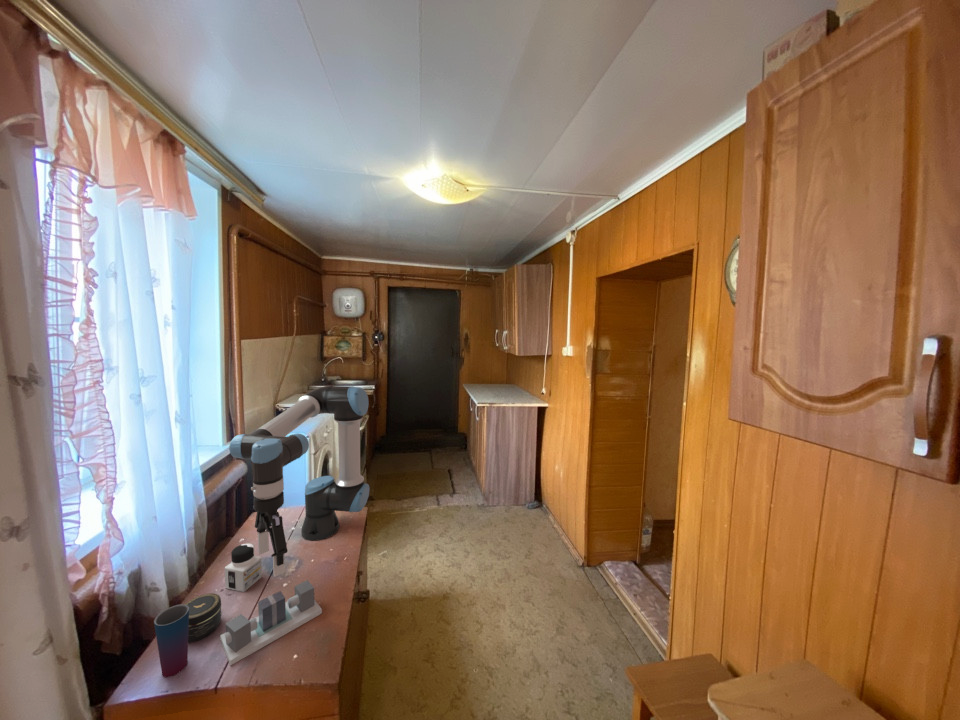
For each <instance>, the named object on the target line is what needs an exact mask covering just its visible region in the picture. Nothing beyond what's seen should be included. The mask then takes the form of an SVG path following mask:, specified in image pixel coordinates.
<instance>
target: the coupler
mask: <svg viewBox="0 0 960 720" xmlns="http://www.w3.org/2000/svg"><path fill="white" fill-rule="evenodd" d="M285 602H286V597H285V595H284V594H283V592H282V591H281V590H279V591H278V592H275V593H273V594H270V595H269V596H267V597H265V598H263V599H261V600H258V602H257V604H258V605H257V606H258V610H257V611H258V616H259V625H260V627H261V629H262V630H263V632H264V631H266V630H268V629H270V628H271V627H274V626H276V625H277V624H279V623H281V622H282V621H284V620H286V608H285Z"/></svg>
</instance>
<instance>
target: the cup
mask: <svg viewBox="0 0 960 720" xmlns="http://www.w3.org/2000/svg"><path fill="white" fill-rule="evenodd" d="M185 604H186V603H185ZM185 604H183V603H181V604H176V605H173V606H170V607H167V608H166V609H164V610H163V611H161V612H160V613H158V615H156V617H155V618H154V620H153V624H154V625H153V626H154V630H155V636H156V637H155V638H156V642H157V649H158V656H159V662H160V668H161V669H160V670H161V676H162V677H163V678H172V677H173V676H177V675H178V674H180V673H181V672H183V670H184V669H185V668H186V666H187V665H188V662H189V661H188V659H189V658H188V657H189V656H188V655H189V654H188V653H189V642H188V629H189V607H188V606H187V605H185ZM171 676H172V677H171Z"/></svg>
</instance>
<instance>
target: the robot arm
mask: <svg viewBox="0 0 960 720" xmlns="http://www.w3.org/2000/svg"><path fill="white" fill-rule="evenodd" d="M369 404H370V403H369V397H368V394H367V391H365V388H362V387H359V386H357V387H356V386H354V385H353V386H350V385H349V386H348V385H347V386H345V385H342V386H341V385H325V386H324V385H323V386H321V387H318V388H315V389H313V390H311V391H308V392H306V393H305V394H303V395H302V396H300V397H299V398H298V399H297V402H296V403H295V404H293V405H291V406H290V407H288V408H287V409H285V410H284V411H282V412H281V413H280V414H278V415H277V416H275V417H274V418H272V419H271V420H269V421H268V422H266V423H265V424H263V425H262V426H260V427H259V428H257V429H255V430H254V431H253V432H251V433H250V434H249V433H243V434H237V435H235V436H234V437H233V438H232V439H231V441H230V442H229V447H228V450H229V454H230V455H231V456H232V458H236V459H242V460H251V469H252V486H251V487H250V491H252V494H253V502H252V503H253V511H255V512H256V516H255V522H254V528H255V529H256V532H257V549H258V550H257V553H258V555H259V556H261V555H263V554H266V553H268V552H270V542H271V546H272V550H273V553H272V554H271V557H272V566H273V567H272V570H273V573H272V575H273V577H274V578H276V577H278V576H281V575H282V574H284V573H286V565H285V564H286V561H285V558H286V557H285V554H287V553H288V547H287V542H286V536H285V531H284V525H283V516H282V515H280V513H279V512H278V510H279V509H280V508H281V507H282V506H284V503H285V499H284V498H285V497H284V493H285V492H284V487H285V486H284V485H285V483H284V467H286V466H287V465H289V464H291V463H292V462H294V461H296V460H298V459H300V458H301V457H303V456H304V455H305V454H306V453H307V452H308V451H309V448H310V444H309V443H310V441H309V440H308V438H307V436H306V435H304V434H302V433H298V432H297V433H294V434H291V433H292V432H293V431H294V430H296V429H297V428H298V427H300V426H301V425H302V424H303V423H305V422H306V421H308V420H309V419H310V418H312V419H313V418H314V417H317V416H318V415H320V414H321V415H322V414H332V415H333V419H334V422H336V424H337V432H338V435H337V437H338V439H337V440H338V443H337V444H338V478H337V479H335V477H334V476H332V475H323V476H319V477H315V478H313V479H311V480H310V481H308V482H307V483H306V485H305V488H304V502H305V503H304V505H305V506H304V508H305V517H304V520H303V522H302V526H301V529H300V531H301V534H300V535H301V538H303V539H304V540H308V541H321V540H324V539H328V538H330V537H331V536H333V535H335V534H336V533H338V531H339V528H340V522H339V518H338V516H337V514H336V512H348V513H359V512H362V511H363V509H364V508H365V506H366V505H367V502H368V499H369V497H370V485H369V484H368V483H365V478H364V477H365V476H363V475H362V474H361V431H360V430H361V428H360V426H361V425H360V423H361V421H362V420H363V419H364V416H365V415H366V414H367V413H368V410H369V409H368V408H369ZM289 434H290V435H289ZM269 538H270V540H269Z"/></svg>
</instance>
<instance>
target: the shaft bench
mask: <svg viewBox="0 0 960 720" xmlns="http://www.w3.org/2000/svg"><path fill="white" fill-rule="evenodd" d="M285 608H286V620H284V621H282V622H281V623H279V624H277V625H276V626H274V627H271V628H270V629H268V630H266V631H264V632H263V630H262V629H261V627H260V625H259V615H257V616H255V617H253V618H251V619H248V618H247V617H246V616H245V615H243V614H242V613H240V614H239V615H237V616H236V617H234V618H232V619H231V620H229V621H228V622H226V623H225V632H224V633H222V634H220V635H219V640H220V643H221V646H222V648H223V651H224V653H225V655H226V659H227V661H228V664H229V666H232V665H234V664H236V663H237V662H239V661H241V660H243V659H245V658H247V657H248V656H250V655H252V654H254V653H255V652H258V651H259V650H260V649H263V648H264V647H265V646H267V645H269V644H271V643H273V642H274V641H277V639H280V638H281V637H283V636H285V635H286V634H288V633H290V632H292V631H293V630H296V629H297V628H299V627H300V626H301V627H302V625H304V624H306V623H307V622H309V621H311V620H313V619H315V618H316V617H318V616H320V615H321V614H323V609H322V608H321V606H320V604H319V603H318V602H317V601H316V600H315V587H314V586H313V584H312V583H311V582H310V581H309V580H308V579H307V580H305V581H302V582H300V583H298V584H296V585H294V595H293V596H291V597H289V598H288V599H287V601H286V600H285Z"/></svg>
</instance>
